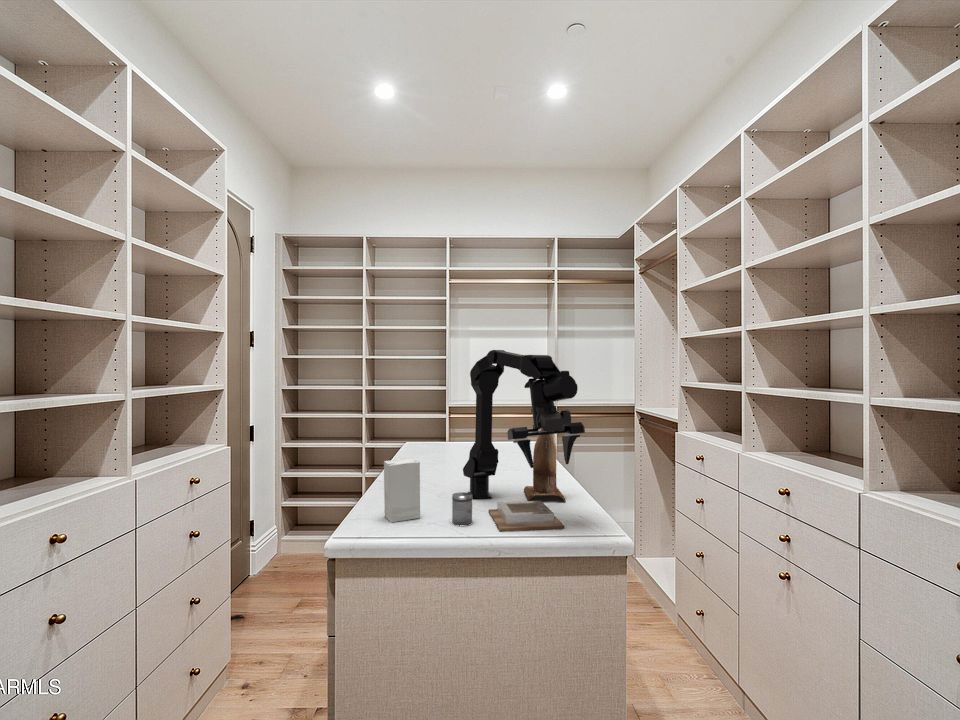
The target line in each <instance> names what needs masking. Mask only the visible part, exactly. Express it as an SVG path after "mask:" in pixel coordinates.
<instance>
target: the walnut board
mask: <svg viewBox="0 0 960 720" xmlns="http://www.w3.org/2000/svg"><path fill="white" fill-rule="evenodd" d="M488 514H489V516H490V518H491V517H492V518H491V520H492V519H493V520H492V521H493V523H494V522H495V523H494V524H496V525H495V526H497V527H496V528H497V530H498V532H500V533H503V532H502V531H509V532H523V531H525V532H526V531H531V530H532V531H547V530H548V531H551V530H553V529H555V530H566V528H565V525H564V524H563V522H561V520H560V519H559V518H557V516H555V515H554V524H530V525H505V523H504V521H503V520H502V518H501V517H500V515H499V513H498V512H497V508H492V509H491V508H490V509H488Z"/></svg>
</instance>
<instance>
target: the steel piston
mask: <svg viewBox="0 0 960 720" xmlns="http://www.w3.org/2000/svg"><path fill="white" fill-rule="evenodd" d="M451 497H452V498H451V499H452V500H451V501H452V502H451V504H452V505H451V508H452V511H451V512H452V514H451V515H452V516H451V524H452V523H453V524H454V525H453V524H452V525H453V526H456V525H459V526H458V527H461V526H460V525H468V526H470V525H469V524H471V523H472V524H473V497H472V494H471V493H468V492H454V493H453V494H452V496H451ZM472 524H471V525H472Z"/></svg>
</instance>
